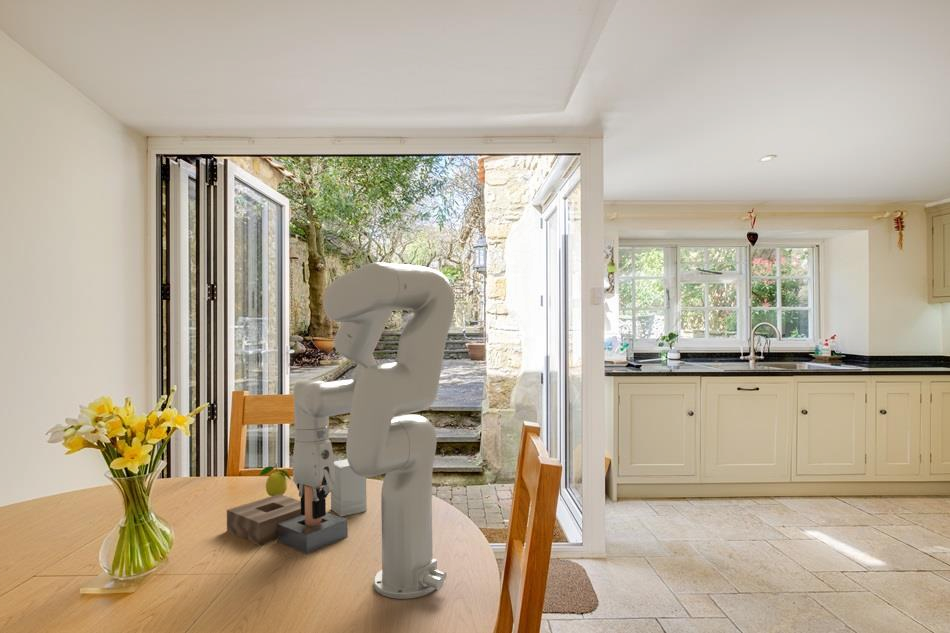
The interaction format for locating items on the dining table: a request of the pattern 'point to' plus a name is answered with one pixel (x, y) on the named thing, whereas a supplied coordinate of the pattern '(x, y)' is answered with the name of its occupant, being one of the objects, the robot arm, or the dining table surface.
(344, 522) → the pin mount
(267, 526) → the socket block
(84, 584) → the dining table surface
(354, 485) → the supplement box
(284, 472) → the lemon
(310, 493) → the pin
